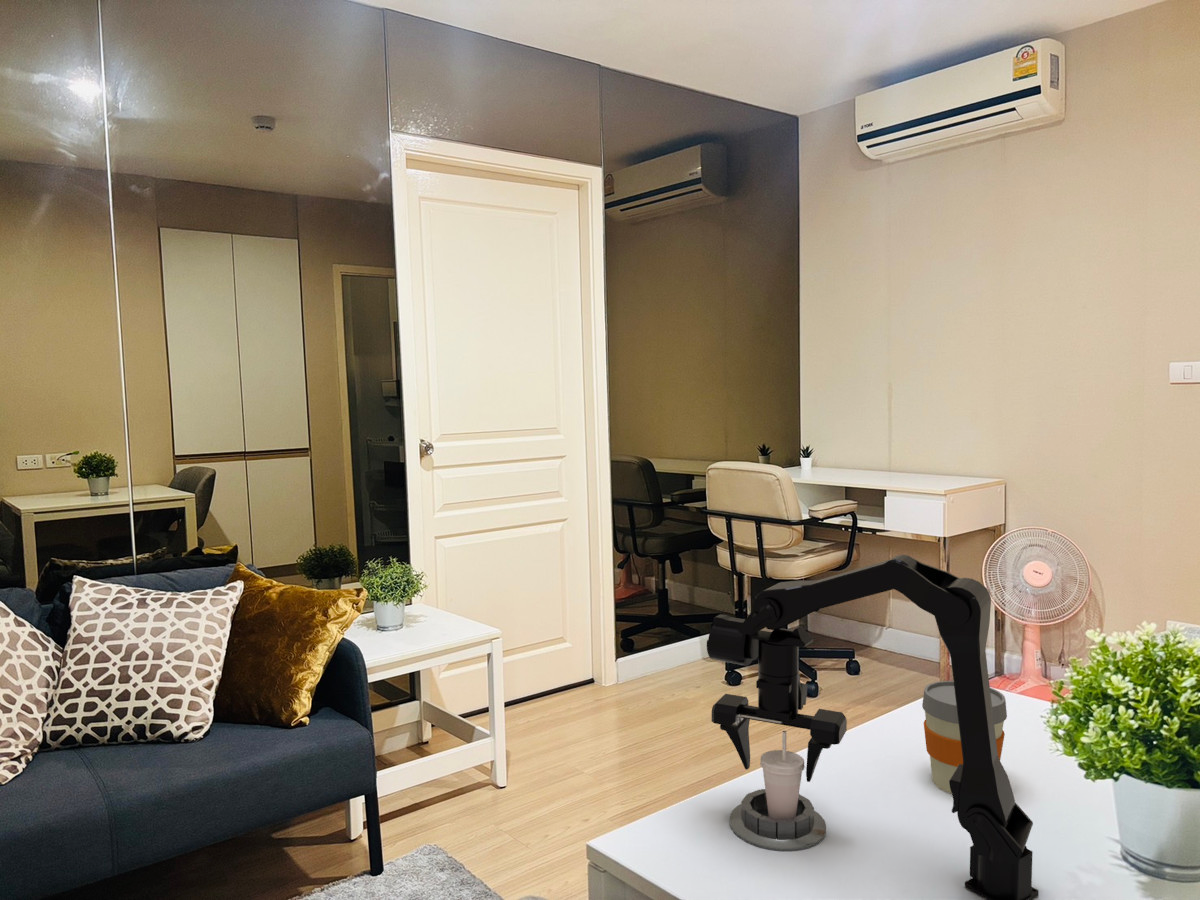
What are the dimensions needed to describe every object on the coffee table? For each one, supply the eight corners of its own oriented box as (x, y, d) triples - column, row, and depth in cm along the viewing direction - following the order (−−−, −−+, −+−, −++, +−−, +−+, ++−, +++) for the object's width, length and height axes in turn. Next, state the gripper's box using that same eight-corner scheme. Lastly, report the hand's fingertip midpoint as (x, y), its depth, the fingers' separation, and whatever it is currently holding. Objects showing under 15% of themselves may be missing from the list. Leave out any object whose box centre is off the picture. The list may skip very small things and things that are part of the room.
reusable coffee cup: (925, 798, 137) (927, 705, 136) (916, 763, 149) (918, 677, 148) (1012, 806, 134) (1015, 711, 133) (996, 770, 146) (998, 683, 145)
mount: (846, 832, 127) (847, 811, 127) (776, 861, 119) (776, 839, 119) (778, 794, 139) (778, 775, 138) (710, 818, 131) (710, 798, 131)
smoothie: (773, 836, 125) (773, 741, 123) (752, 815, 131) (752, 724, 130) (812, 829, 127) (813, 735, 125) (789, 808, 133) (790, 719, 132)
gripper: (854, 663, 130) (853, 764, 131) (734, 647, 138) (734, 742, 140) (838, 687, 120) (837, 796, 121) (710, 668, 129) (710, 770, 130)
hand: (777, 774), depth 128 cm, fingers open, 9 cm apart
